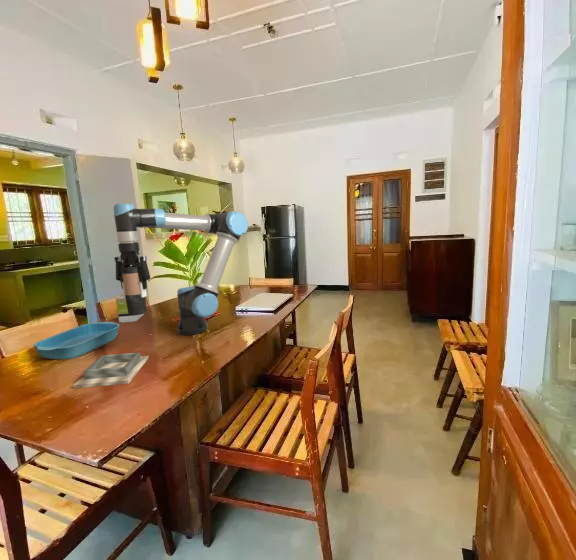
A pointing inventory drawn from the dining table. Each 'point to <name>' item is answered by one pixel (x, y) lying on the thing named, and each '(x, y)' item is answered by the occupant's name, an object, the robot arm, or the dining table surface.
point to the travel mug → (133, 291)
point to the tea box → (125, 311)
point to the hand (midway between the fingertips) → (135, 296)
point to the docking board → (112, 370)
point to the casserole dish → (77, 340)
